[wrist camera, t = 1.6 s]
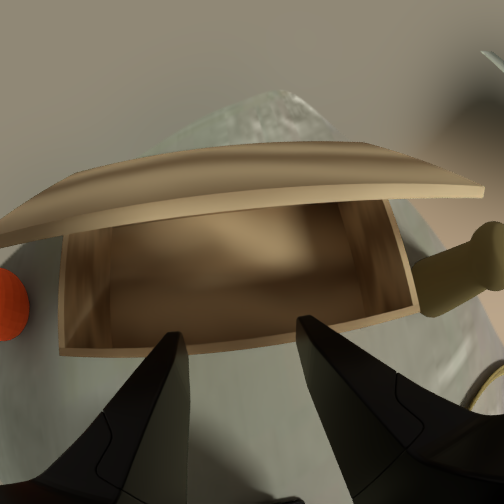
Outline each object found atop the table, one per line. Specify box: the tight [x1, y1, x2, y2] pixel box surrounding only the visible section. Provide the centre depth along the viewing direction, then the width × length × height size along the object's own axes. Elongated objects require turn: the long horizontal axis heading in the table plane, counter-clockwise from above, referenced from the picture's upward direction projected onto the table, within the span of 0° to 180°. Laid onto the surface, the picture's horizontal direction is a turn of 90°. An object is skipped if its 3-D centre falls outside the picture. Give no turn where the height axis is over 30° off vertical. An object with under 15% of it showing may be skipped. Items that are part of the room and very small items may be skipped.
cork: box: [411, 221, 504, 318], centre depth 18 cm, size 6×6×11 cm
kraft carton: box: [58, 199, 421, 358], centre depth 19 cm, size 12×22×8 cm, turn 98°
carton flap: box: [0, 141, 485, 248], centre depth 12 cm, size 11×21×1 cm
